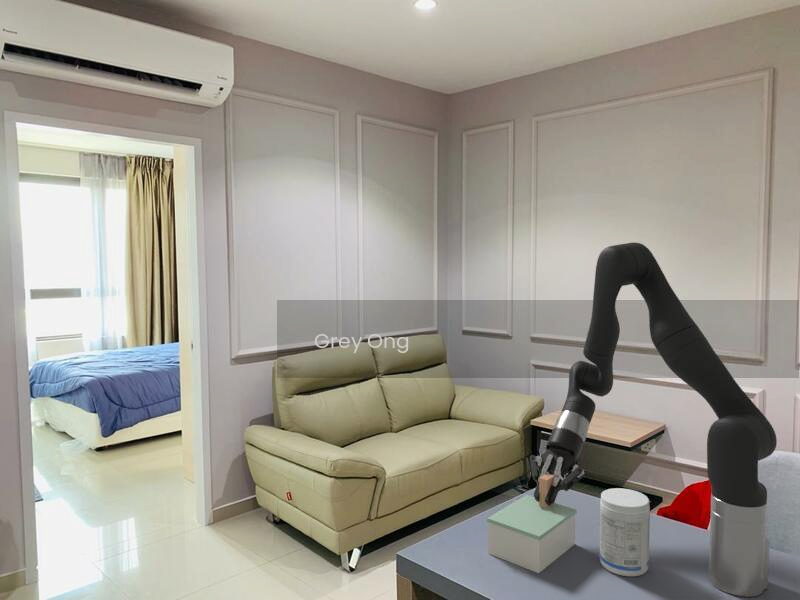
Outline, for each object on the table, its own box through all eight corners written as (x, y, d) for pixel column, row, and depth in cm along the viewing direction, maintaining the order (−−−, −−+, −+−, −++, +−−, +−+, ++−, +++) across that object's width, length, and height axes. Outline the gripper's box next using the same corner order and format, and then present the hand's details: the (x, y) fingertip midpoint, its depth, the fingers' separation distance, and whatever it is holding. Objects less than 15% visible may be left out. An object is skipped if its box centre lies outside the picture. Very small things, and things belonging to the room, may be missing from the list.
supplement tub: (615, 549, 129) (616, 483, 127) (657, 567, 121) (659, 497, 120) (589, 564, 122) (590, 495, 121) (632, 584, 115) (634, 510, 114)
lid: (526, 501, 139) (526, 468, 138) (576, 516, 131) (576, 481, 130) (487, 525, 127) (487, 489, 126) (539, 544, 119) (539, 505, 118)
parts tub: (526, 527, 139) (527, 498, 139) (574, 544, 131) (575, 513, 131) (488, 553, 127) (488, 521, 127) (538, 573, 119) (539, 539, 119)
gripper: (536, 421, 142) (509, 486, 134) (591, 432, 133) (565, 502, 125) (547, 437, 147) (521, 501, 138) (601, 449, 137) (576, 518, 129)
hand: (542, 501), depth 132 cm, fingers closed on lid
